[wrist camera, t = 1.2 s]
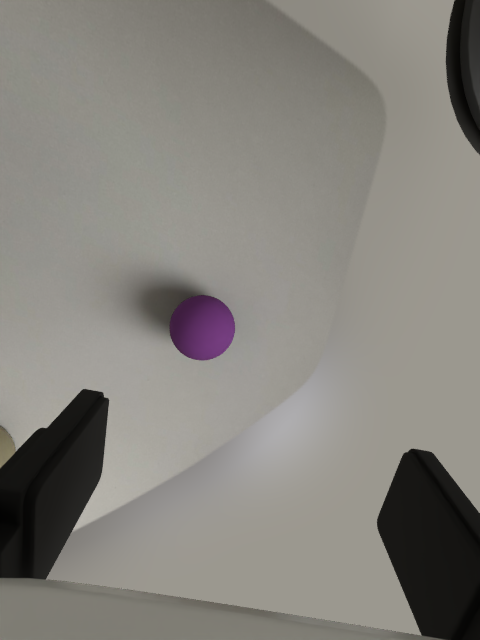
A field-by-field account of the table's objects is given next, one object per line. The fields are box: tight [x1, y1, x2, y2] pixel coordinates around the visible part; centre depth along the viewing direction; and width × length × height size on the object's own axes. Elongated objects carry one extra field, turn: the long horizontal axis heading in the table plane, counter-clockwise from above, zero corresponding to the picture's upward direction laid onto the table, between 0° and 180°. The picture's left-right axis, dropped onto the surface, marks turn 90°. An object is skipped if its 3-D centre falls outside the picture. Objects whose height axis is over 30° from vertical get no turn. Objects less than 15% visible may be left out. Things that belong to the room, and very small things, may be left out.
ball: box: [170, 295, 235, 360], centre depth 24 cm, size 4×4×4 cm
